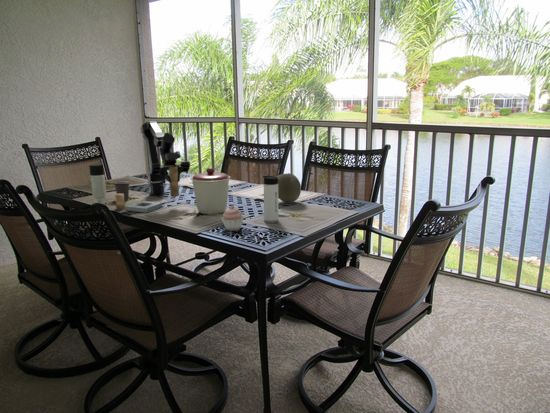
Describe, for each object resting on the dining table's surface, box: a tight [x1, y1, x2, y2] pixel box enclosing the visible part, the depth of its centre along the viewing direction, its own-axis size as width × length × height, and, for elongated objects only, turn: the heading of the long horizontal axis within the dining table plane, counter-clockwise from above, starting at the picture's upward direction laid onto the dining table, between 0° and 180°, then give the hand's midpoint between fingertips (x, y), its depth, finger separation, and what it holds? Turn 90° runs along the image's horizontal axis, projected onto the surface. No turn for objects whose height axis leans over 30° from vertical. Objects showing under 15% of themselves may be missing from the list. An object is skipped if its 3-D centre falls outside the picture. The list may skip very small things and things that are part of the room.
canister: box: [190, 166, 231, 215], centre depth 202 cm, size 18×18×21 cm
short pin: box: [114, 193, 126, 210], centre depth 211 cm, size 4×4×7 cm
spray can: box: [88, 163, 108, 205], centre depth 219 cm, size 7×7×20 cm
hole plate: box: [125, 200, 163, 214], centre depth 211 cm, size 12×12×2 cm
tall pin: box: [168, 167, 180, 198], centre depth 210 cm, size 4×4×14 cm
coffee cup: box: [113, 180, 131, 201], centre depth 228 cm, size 8×8×10 cm
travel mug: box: [262, 175, 279, 224], centre depth 186 cm, size 6×7×20 cm
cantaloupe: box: [276, 173, 302, 203], centre depth 219 cm, size 14×14×15 cm
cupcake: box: [220, 205, 245, 232], centre depth 177 cm, size 9×9×10 cm
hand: (174, 181), depth 209 cm, fingers closed on tall pin, 4 cm apart
